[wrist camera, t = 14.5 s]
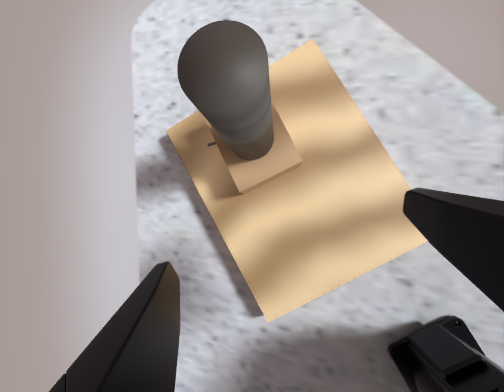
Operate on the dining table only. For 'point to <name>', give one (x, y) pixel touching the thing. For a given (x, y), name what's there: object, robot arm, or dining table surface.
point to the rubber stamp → (237, 102)
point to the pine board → (305, 192)
